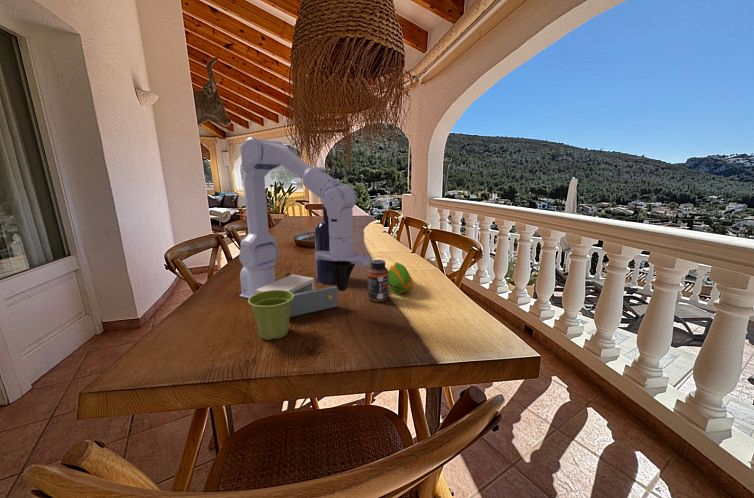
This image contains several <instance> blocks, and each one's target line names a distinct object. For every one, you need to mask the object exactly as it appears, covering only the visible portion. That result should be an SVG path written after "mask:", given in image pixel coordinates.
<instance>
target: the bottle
mask: <svg viewBox="0 0 754 498" xmlns="http://www.w3.org/2000/svg"><path fill="white" fill-rule="evenodd" d="M320 200H321V199H320ZM321 204H322V216H323V221H320V222H318V223H317V224H316V226H315V227H314V244H315V245H314V246H315V247H314V248H315V252H317V251H330V248H329V221H328V216H327V210H326V208H325V207H324V205H323V202H322V200H321ZM330 262H331V261H329V260H321V259H320V260H315V267H316V269H315V271H316V283H318V284H322V285H334V284H336V281H335V279H334V276H333V274H332V272H331V271H330V269H329V268H328V264H330ZM336 285H337V284H336Z"/></svg>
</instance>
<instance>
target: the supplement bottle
mask: <svg viewBox="0 0 754 498" xmlns="http://www.w3.org/2000/svg"><path fill="white" fill-rule="evenodd" d="M370 266H371V267H369V268H368V269H367V298H368V300H369V301H371V302H374V303H383V302H386V301H387V300H388V297H389V285H388V271H389V269H388V268H387V267H386V261H385V259H384V260H383V259H373V260H370Z"/></svg>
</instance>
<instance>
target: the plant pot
mask: <svg viewBox="0 0 754 498" xmlns="http://www.w3.org/2000/svg"><path fill="white" fill-rule="evenodd" d="M293 298H294V294H293V293H292V292H289V291H286V290H269V291H263V292H260V293H257V294H254V295H252V296H251V297H250V298H247V299H248V300H247V303H248V305H249V306H250V307H251V310H252V312H253V314H254V318H255V322H256V326H257V331H258V335H259V337H260V338H261V339H262V340H267V341H268V340H269V341H270V340H273V339H281V338H283V337H286V336H287V334H288V332H289V329H290V328H289V327H290V318H291V317H290V307H291V304H292V300H293Z"/></svg>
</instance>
